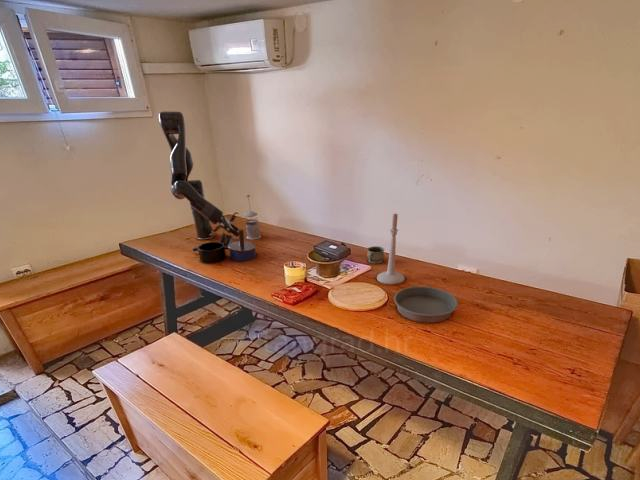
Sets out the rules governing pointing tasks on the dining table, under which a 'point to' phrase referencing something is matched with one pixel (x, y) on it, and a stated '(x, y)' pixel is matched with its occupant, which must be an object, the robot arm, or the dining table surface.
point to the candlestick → (391, 260)
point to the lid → (241, 243)
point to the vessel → (375, 254)
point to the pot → (212, 252)
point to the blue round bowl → (242, 255)
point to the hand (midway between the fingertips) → (237, 232)
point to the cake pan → (425, 304)
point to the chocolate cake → (226, 239)
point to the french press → (252, 225)
